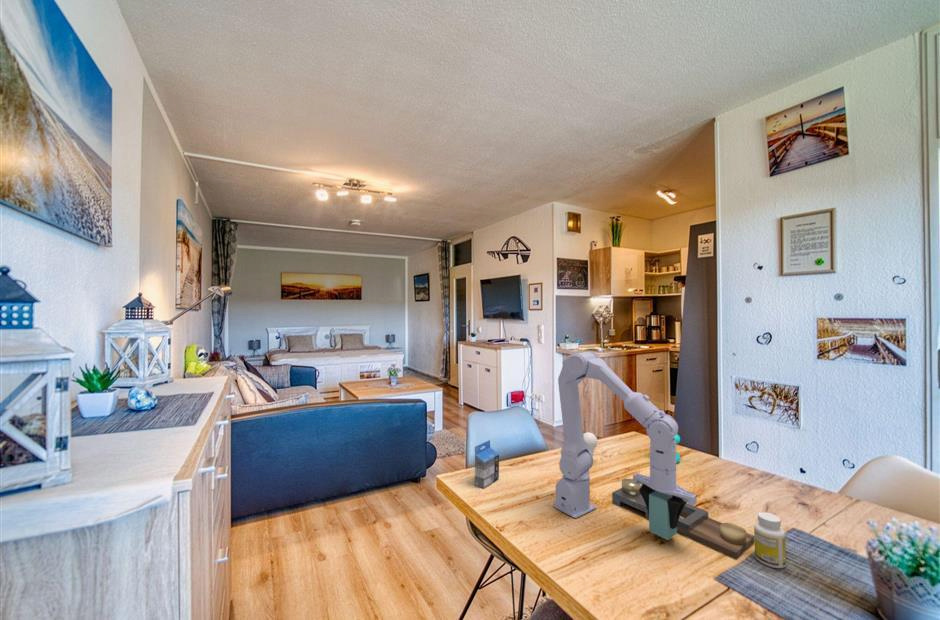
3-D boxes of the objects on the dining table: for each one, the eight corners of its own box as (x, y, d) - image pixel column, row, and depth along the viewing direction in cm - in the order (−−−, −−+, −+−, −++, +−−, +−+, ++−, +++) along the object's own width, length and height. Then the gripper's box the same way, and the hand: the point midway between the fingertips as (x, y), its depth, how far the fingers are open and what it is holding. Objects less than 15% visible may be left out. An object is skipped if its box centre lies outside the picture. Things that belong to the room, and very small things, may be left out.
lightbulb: (586, 466, 134) (586, 435, 134) (577, 460, 140) (577, 430, 140) (601, 464, 136) (600, 434, 136) (591, 458, 142) (591, 429, 142)
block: (667, 540, 88) (667, 501, 88) (649, 531, 92) (649, 494, 92) (676, 533, 91) (676, 496, 91) (658, 525, 94) (658, 489, 94)
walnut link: (736, 559, 83) (736, 542, 83) (645, 517, 100) (645, 503, 100) (754, 542, 90) (754, 525, 90) (666, 505, 107) (666, 492, 107)
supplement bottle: (771, 553, 86) (771, 510, 86) (792, 569, 80) (792, 523, 80) (748, 553, 85) (748, 510, 86) (768, 569, 80) (767, 523, 80)
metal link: (688, 537, 91) (688, 515, 91) (612, 502, 108) (612, 484, 108) (708, 523, 98) (708, 502, 98) (633, 492, 115) (633, 474, 115)
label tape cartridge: (484, 489, 117) (484, 449, 117) (474, 485, 119) (474, 447, 119) (499, 479, 124) (499, 442, 124) (489, 476, 126) (489, 439, 126)
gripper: (702, 472, 88) (702, 530, 88) (643, 453, 99) (643, 504, 99) (688, 480, 84) (688, 541, 83) (628, 459, 95) (628, 513, 95)
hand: (662, 522), depth 91 cm, fingers closed on block, 4 cm apart
